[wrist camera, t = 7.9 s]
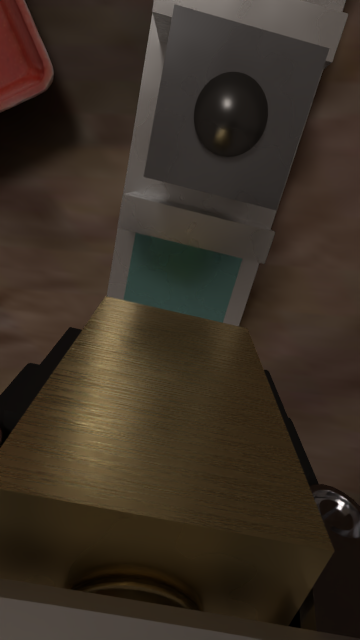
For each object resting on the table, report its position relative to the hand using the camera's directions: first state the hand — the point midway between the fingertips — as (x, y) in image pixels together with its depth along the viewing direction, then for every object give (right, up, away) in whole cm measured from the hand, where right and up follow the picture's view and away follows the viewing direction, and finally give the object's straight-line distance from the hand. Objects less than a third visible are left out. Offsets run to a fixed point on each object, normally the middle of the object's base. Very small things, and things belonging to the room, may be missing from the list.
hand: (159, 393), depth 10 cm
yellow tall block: (0, 0, +1) cm, 1 cm away
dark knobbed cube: (+2, +11, +6) cm, 13 cm away
